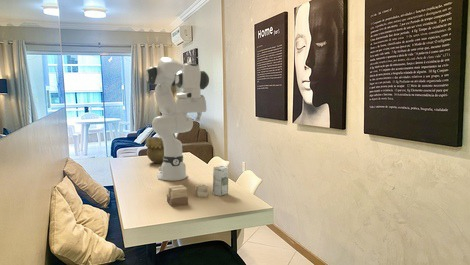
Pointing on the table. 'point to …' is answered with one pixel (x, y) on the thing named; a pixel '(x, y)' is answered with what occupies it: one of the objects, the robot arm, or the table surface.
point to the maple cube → (201, 190)
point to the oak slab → (177, 191)
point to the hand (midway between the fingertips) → (192, 121)
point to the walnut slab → (177, 201)
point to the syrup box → (220, 180)
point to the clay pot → (155, 149)
